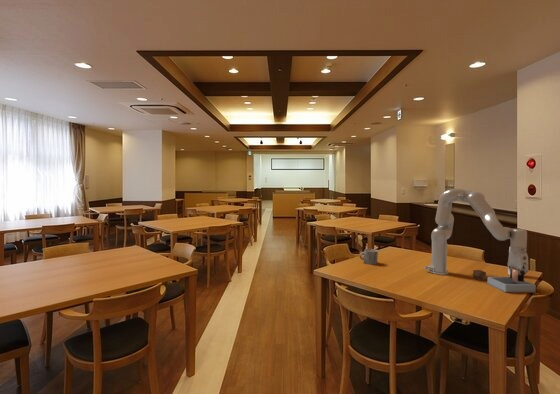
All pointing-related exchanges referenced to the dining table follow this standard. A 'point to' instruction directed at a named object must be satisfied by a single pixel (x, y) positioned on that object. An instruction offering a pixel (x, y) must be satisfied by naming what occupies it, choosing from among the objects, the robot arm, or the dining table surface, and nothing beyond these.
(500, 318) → the dining table surface
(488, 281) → the tray
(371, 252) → the coffee mug
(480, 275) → the walnut cube
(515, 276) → the terracotta cylinder
